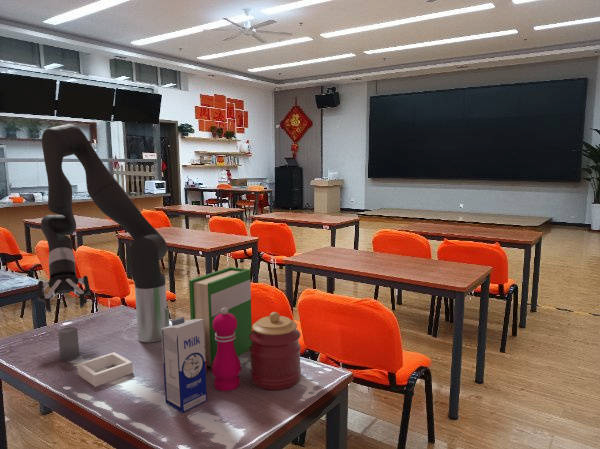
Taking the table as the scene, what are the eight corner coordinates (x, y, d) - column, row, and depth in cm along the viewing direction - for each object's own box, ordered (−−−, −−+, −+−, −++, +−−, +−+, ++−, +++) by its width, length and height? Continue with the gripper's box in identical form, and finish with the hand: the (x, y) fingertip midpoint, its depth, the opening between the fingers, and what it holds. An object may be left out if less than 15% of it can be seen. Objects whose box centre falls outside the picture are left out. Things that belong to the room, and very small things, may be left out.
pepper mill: (236, 393, 109) (233, 313, 106) (207, 390, 110) (204, 311, 108) (245, 379, 116) (243, 303, 113) (218, 377, 117) (215, 302, 115)
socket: (114, 362, 127) (114, 352, 127) (132, 372, 120) (132, 362, 120) (78, 374, 120) (77, 364, 119) (95, 386, 113) (94, 375, 113)
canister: (311, 377, 117) (310, 311, 114) (276, 397, 107) (274, 325, 105) (275, 363, 125) (274, 301, 123) (239, 380, 115) (237, 313, 113)
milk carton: (181, 413, 100) (177, 326, 98) (164, 403, 105) (159, 320, 102) (207, 400, 106) (204, 318, 103) (190, 391, 110) (186, 312, 107)
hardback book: (214, 371, 121) (210, 283, 118) (193, 365, 124) (188, 280, 121) (252, 347, 136) (250, 269, 133) (232, 343, 140) (230, 266, 136)
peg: (79, 352, 134) (76, 326, 133) (80, 358, 130) (77, 331, 129) (60, 355, 132) (57, 329, 131) (60, 362, 128) (57, 334, 127)
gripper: (35, 260, 140) (37, 306, 131) (86, 255, 146) (91, 299, 138) (37, 274, 145) (39, 319, 137) (86, 268, 152) (91, 311, 143)
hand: (65, 309), depth 137 cm, fingers open, 8 cm apart
